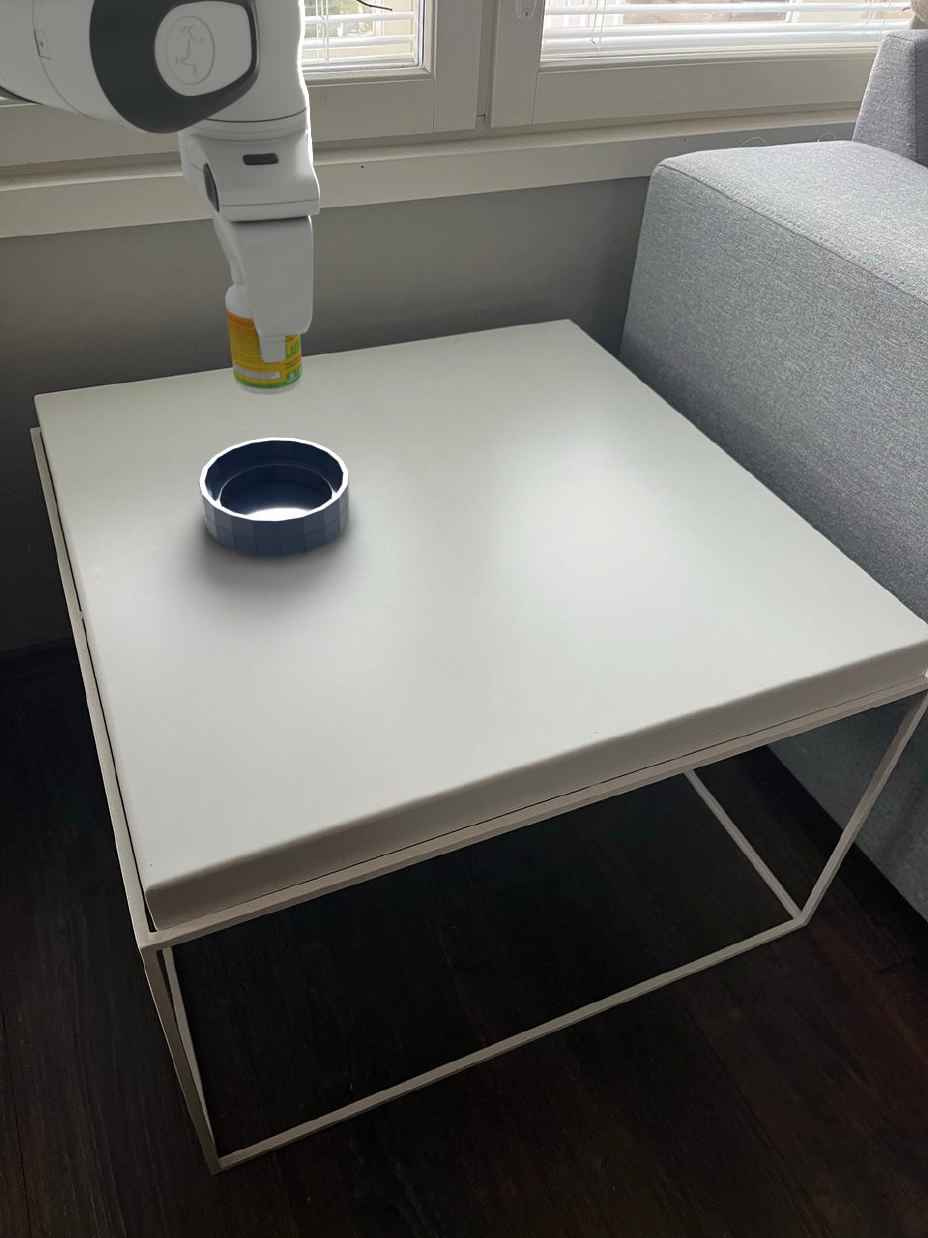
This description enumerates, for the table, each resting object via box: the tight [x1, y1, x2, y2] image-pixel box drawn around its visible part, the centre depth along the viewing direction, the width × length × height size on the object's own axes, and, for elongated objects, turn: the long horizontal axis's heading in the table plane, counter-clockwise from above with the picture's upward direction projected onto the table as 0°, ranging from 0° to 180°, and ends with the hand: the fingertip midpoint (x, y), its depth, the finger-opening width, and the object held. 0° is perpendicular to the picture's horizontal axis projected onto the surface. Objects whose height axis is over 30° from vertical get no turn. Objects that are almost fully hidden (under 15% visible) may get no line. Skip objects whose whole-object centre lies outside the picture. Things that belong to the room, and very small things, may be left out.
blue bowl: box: [198, 437, 351, 558], centre depth 88 cm, size 13×13×4 cm
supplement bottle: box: [224, 262, 303, 396], centre depth 75 cm, size 5×5×10 cm
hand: (264, 338), depth 75 cm, fingers closed on supplement bottle, 5 cm apart
